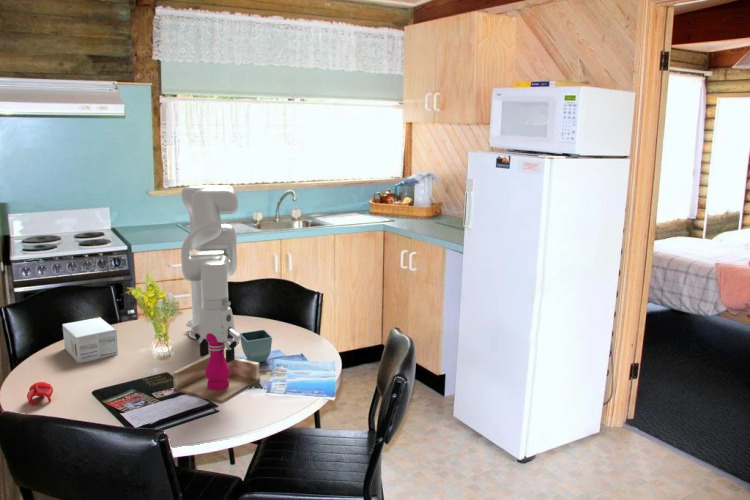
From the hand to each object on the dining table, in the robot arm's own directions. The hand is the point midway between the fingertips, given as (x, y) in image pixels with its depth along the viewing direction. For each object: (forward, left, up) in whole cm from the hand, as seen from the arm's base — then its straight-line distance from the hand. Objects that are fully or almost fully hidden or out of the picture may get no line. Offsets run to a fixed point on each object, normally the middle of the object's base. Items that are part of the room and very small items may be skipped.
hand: (217, 358), depth 186 cm
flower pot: (-4, +24, -10) cm, 26 cm away
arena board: (-2, +2, -10) cm, 10 cm away
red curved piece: (-39, -30, -10) cm, 50 cm away
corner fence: (-2, +2, -10) cm, 10 cm away
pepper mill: (0, 0, -9) cm, 9 cm away
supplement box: (-59, +4, -10) cm, 60 cm away
